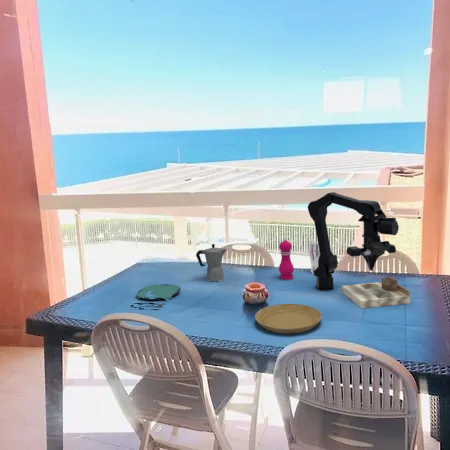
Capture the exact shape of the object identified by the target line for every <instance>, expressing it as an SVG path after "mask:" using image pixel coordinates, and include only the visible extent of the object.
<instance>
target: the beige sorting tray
mask: <svg viewBox="0 0 450 450" xmlns="http://www.w3.org/2000/svg"><path fill="white" fill-rule="evenodd" d="M385 277H386V276H384V277H383V278H385ZM341 293H342V294H344V295H345V296H346V297H347V298H348V299H350V301H352V302H353V303H354V304H355V305H357V306H358V307H359V308H361V309H369V308H370V309H371V308H378V307H379V308H380V307H388V306H396V305H407V304H409V305H410V304H411V290H410V289H407V288H405V287H404V286H402V285H401V284H399V283H397V291H385V290H384V289H382V281H379V282H378V281H377V282H367V283H357V284H349V285H348V284H346V285H341Z"/></svg>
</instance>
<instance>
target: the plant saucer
mask: <svg viewBox="0 0 450 450" xmlns="http://www.w3.org/2000/svg"><path fill="white" fill-rule="evenodd" d="M254 317H255V320H256V322H257V324H259V326H261V327H262V328H263V329H265V330H267V331H268V332H272V333H276V334H277V333H278V334H283V335H291V334H299V333H300V334H301V333H304V332H308V331H310V330H312V329H314V328H315V327H316V326H317V325H319V323H320V322H321V320H322V317H323V315H322V312H321V311H320V310H319V309H318V308H315V307H313V306H310V305H307V304H302V303H301V304H300V303H279V304H273V305H272V304H271V305H268V306H265V307H263V308H261V309H260V310H258V311H257V312H256V313H255V316H254Z"/></svg>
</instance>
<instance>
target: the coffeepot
mask: <svg viewBox="0 0 450 450" xmlns="http://www.w3.org/2000/svg"><path fill="white" fill-rule="evenodd" d="M215 246H216V244H215V243H212V244H211V247H210V248H207V249H199V250H198V251H197V252H196V254H195V256H196V259H197V260H198V263H199V265H200V267H205V265H206V264H207V268H206V279H207V280H209V281H219V280H222V281H224V280H225V274H224V270H223V266H222V262H223V257H224V255H225V253H226V251H227V248H221V247H215ZM200 255H204V256H205V261H206V264H203V260H202V258H201V256H200ZM206 279H205V280H206ZM223 279H224V280H223ZM207 280H206V281H207ZM209 281H208V282H209ZM219 282H220V281H219Z"/></svg>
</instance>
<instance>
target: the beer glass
mask: <svg viewBox="0 0 450 450" xmlns="http://www.w3.org/2000/svg"><path fill="white" fill-rule="evenodd" d="M308 246H309V247H308V249H309V250H308V251H309V253H308V254H309V259H310V264H311V267H310V273H311V272H312V273H311V274H313V271H314V270H315V269H316V268H317V267H318V259H319V255H320V251H319V245H318V241H311V242H309V245H308Z"/></svg>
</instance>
